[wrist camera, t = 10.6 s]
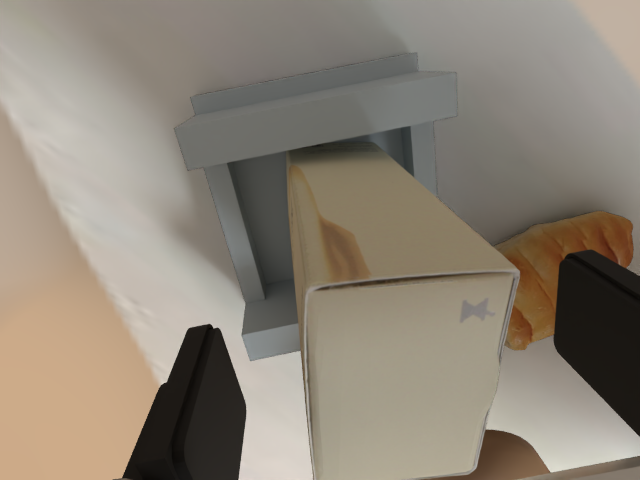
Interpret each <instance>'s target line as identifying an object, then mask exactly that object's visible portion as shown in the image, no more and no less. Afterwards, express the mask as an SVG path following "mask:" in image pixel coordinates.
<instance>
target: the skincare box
mask: <svg viewBox="0 0 640 480" xmlns="http://www.w3.org/2000/svg"><path fill="white" fill-rule="evenodd" d="M286 177H287V201H288V218H289V228H290V239H291V250H292V262H293V272H294V282H295V293H296V303H297V313H298V324H299V336H300V347H301V358H302V369H303V380H304V392H305V403H306V414H307V424H308V435H309V445H310V454H311V463H312V470H313V480H420V479H431V478H439V477H449V476H460V475H468V474H470V473H471V472H473V471H474V470H475V469H476V467H477V464H478V459H479V454H480V450H481V446H482V441H483V437H484V433H485V429H486V424H487V419H488V415H489V412H490V408H491V405H492V402H493V399H494V396H495V393H496V388H497V384H498V377H499V371H500V363H501V357H502V353H503V348H504V344H505V339H506V335H507V330H508V325H509V321H510V316H511V312H512V308H513V303H514V299H515V294H516V289H517V286H518V283H519V279H520V271H519V270H518V269H517V268H516V267H515V266H514V265H513V264H512V263H511V262H510V261H509V260H507V259H506V258H505V257H504V256H503V255H502V254H501V253H500V252H498V251H497V250H496V249H495V248H494V247H493V246H491V245H490V244H489V243H488V242H487V241H486V240H485V239H483V238H482V237H481V236H480V235H479V234H478V233H477V232H475V231H474V230H473V229H472V228H471V227H470V226H469V225H468V224H466V223H465V222H464V221H463V220H462V219H461V218H459V217H458V216H457V215H456V214H455V213H454V212H453V211H452V210H451V209H449V208H448V207H447V206H446V205H445V204H444V203H442V202H441V201H440V200H439V199H438V198H437V197H436V196H435V195H433V194H432V193H431V192H430V191H429V190H428V189H426V188H425V187H424V186H423V185H422V184H421V183H420V182H418V181H417V180H416V179H415V178H414V177H413V176H412V175H411V174H409V173H408V172H407V171H406V170H405V169H404V168H403V167H401V166H400V165H399V164H398V163H397V162H396V161H395V160H394V159H392V158H391V157H390V156H389V155H388V154H387V153H386V152H385V151H383V150H382V149H381V148H380V147H379V146H378V145H376V144H375V143H373V142H350V143H322V144H317V145H312V146H307V147H302V148H297V149H293V150H288V151H286Z"/></svg>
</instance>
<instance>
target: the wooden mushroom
mask: <svg viewBox="0 0 640 480" xmlns="http://www.w3.org/2000/svg"><path fill="white" fill-rule="evenodd" d="M548 473H550V471H549V470H548V468H547V467H546V465H545V464H544V462H543V461H542V459H541V458H540V456H539V455H538V453H537V452H536V451H535V449H534V448H533V447H532V445H530V444H529V443H528V442H527V441H526V440H524V439H522V438H521V437H519V436H516V435H514V434H512V433H508V432H504V431H497V430H485V433H484V437H483V441H482V446H481V450H480V454H479V459H478V464H477V467H476V469H475V470H474V471H473V472H471V473H470V474H468V475H460V476H449V477H439V478H431V479H420V480H517V479H522V478H527V477H532V476H538V475H543V474H548Z"/></svg>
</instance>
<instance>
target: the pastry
mask: <svg viewBox="0 0 640 480" xmlns="http://www.w3.org/2000/svg"><path fill="white" fill-rule="evenodd" d="M632 230H633V225H632V223H631V222H630V221H629V220H628V219H626V218H624V217H621V216H617V215H613V214H610V213H607V212H603V211H595V212H591V213H587V214H584V215H579V216H576V217H574V218H568V219H563V220H559V221H556V222H552V223H545V224H536V225H533V226H530V227H529V228H528V229H527V231H525V232H523V233H521V234H518V235H516V236H514V237H512V238H510V239H508V240H506V241H504V242H502V243H500V244H497V245H495V246H494V248H495V249H496V250H497V251H498V252H500V253H501V254H502V255H503V256H504V257H505V258H506V259H507V260H509V261H510V262H511V263H512V264H513V265H514V266H515V267H516V268H517V269H518V270H519V271H520V279H519V283H518V286H517V289H516V294H515V299H514V303H513V308H512V312H511V316H510V321H509V325H508V330H507V335H506V339H505V344H504V345H505V346H507V347H509V348H511V349H513V350H525V349H526V347H527V345H528V344H529V343H532V342H535V341H537V340H541V339H543V338H546V337H548V336H551V335H554V328H555V314H556V301H557V287H558V274H559V264H560V262H561V261H562V260H564V258H565V256H566V255H567V254H569V253H573V252H579V251H584V250H590V249H592V250H594V251H596V252H598V253H600V254H602V255H603V256H605V257H607V258H609V259H610V260H612V261H614V262H615V263H617V264H619V265H621V266H622V267H624V268H627V266H629V265H630V263H631V260H632V257H633V241H632V235H631V232H632Z"/></svg>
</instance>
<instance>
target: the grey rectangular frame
mask: <svg viewBox="0 0 640 480" xmlns="http://www.w3.org/2000/svg"><path fill="white" fill-rule="evenodd" d="M190 98H191V102H192V105H193V108H194V112H195V116H194V117H192V118H190V119H189V120H187V121H185V122H184V123H182V124H181V125H179V126H177V127H176V128H174V130H175V133H176V136H177V139H178V142H179V146H180V149H181V152H182V155H183V158H184V161H185V164H186V167H187V170H193V169H198V168H203V167H204V171H205V174H206V177H207V180H208V184H209V187H210V190H211V193H212V197H213V200H214V203H215V206H216V209H217V213H218V216H219V219H220V222H221V226H222V229H223V232H224V235H225V239H226V242H227V245H228V248H229V251H230V255H231V258H232V261H233V264H234V268H235V271H236V274H237V277H238V281H239V284H240V287H241V290H242V293H243V297H244V300H245V303H246V305H245V313H244V321H243V329H242V338H243V341H244V344H245V347H246V350H247V353H248V356H249V359H250V361H253V360H258V359H263V358H267V357H272V356H277V355H281V354H286V353H291V352H296V351H300V350H301V347H300V336H299V324H298V313H297V303H296V293H295V282H294V272H293V262H292V250H291V239H290V228H289V218H288V201H287V177H286V151H288V150H293V149H297V148H302V147H307V146H312V145H317V144H322V143H350V142H373V143H375V144H376V145H378V146H379V147H380V148H381V149H382V150H383V151H385V152H386V153H387V154H388V155H389V156H390V157H391V158H392V159H394V160H395V161H396V162H397V163H398V164H399V165H400V166H401V167H403V168H404V169H405V170H406V171H407V172H408V173H409V174H411V175H412V176H413V177H414V178H415V179H416V180H417V181H418V182H420V183H421V184H422V185H423V186H424V187H425V188H426V189H428V190H429V191H430V192H431V193H432V194H433V195H435V196H436V197H437V183H436V164H435V146H434V127H433V121H436V120H441V119H446V118H451V117H456V116H458V115H457V80H456V72H432V71H418V59H417V53H409V54H403V55H398V56H393V57H388V58H383V59H378V60H373V61H368V62H363V63H358V64H353V65H348V66H343V67H338V68H333V69H328V70H322V71H317V72H312V73H307V74H302V75H297V76H292V77H287V78H282V79H277V80H272V81H267V82H262V83H257V84H252V85H247V86H241V87H236V88H231V89H226V90H221V91H216V92H211V93H206V94H201V95H196V96H193V97H190Z"/></svg>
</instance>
